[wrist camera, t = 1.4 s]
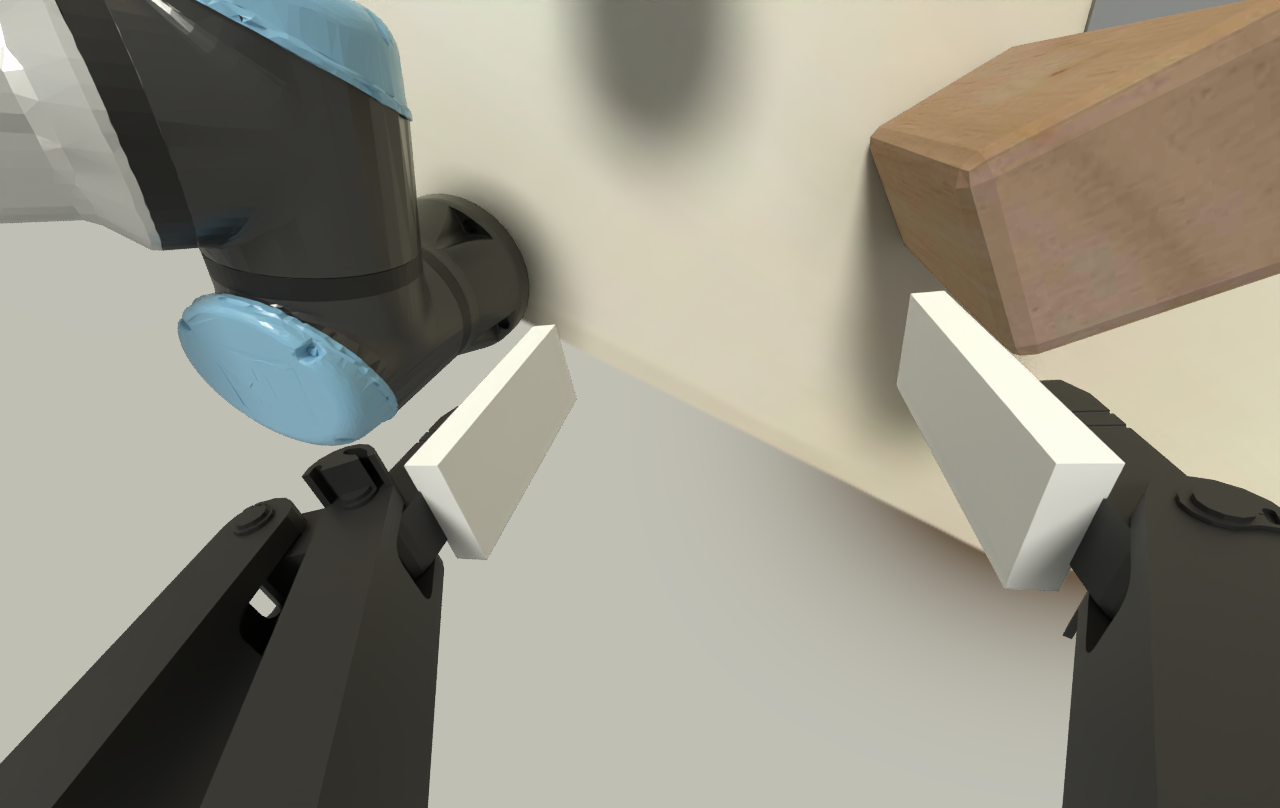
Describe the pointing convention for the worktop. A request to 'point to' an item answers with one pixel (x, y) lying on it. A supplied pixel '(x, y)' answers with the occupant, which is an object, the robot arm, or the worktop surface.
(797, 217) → the worktop surface
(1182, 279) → the wooden block
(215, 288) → the robot arm
